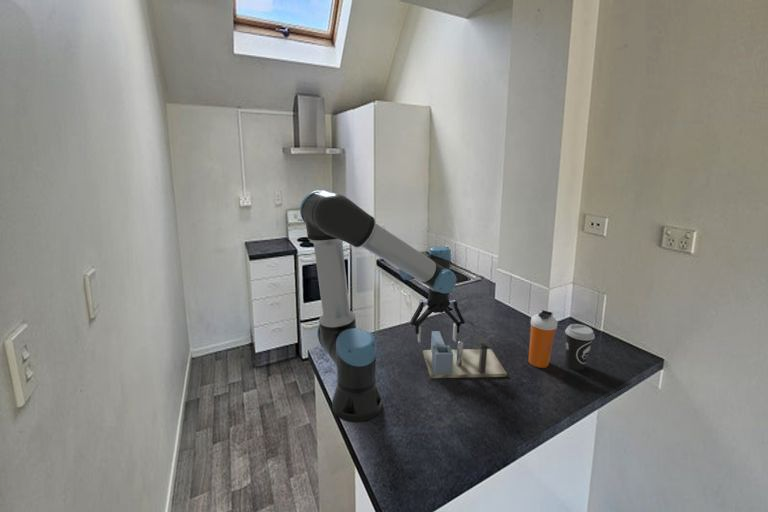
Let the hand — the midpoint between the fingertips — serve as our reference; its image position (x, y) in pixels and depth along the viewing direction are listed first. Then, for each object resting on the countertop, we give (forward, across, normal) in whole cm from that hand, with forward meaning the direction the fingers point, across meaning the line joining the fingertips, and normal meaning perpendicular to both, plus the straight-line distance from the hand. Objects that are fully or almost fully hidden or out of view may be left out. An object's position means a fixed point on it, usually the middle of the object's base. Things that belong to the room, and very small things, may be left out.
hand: (436, 340), depth 142 cm
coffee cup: (+7, +50, -9) cm, 51 cm away
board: (+6, +9, -7) cm, 13 cm away
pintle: (+6, +7, -9) cm, 13 cm away
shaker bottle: (+7, +38, -7) cm, 39 cm away
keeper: (+6, +14, -11) cm, 19 cm away
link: (+5, 0, -7) cm, 8 cm away
